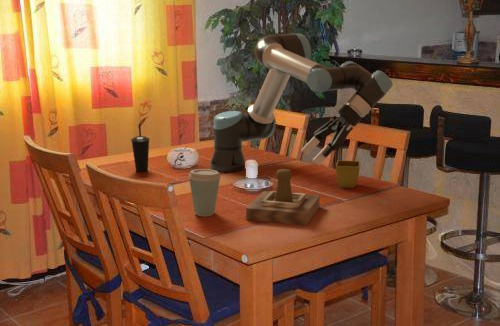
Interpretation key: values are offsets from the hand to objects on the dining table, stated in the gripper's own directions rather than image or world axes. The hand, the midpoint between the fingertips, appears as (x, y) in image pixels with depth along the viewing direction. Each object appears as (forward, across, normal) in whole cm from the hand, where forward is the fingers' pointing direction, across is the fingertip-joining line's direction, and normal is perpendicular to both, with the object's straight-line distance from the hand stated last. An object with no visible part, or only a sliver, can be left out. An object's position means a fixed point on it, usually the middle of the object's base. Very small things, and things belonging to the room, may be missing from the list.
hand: (309, 157), depth 223 cm
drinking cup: (+50, +68, +23) cm, 87 cm away
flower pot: (-3, +26, -30) cm, 40 cm away
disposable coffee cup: (+38, +6, +11) cm, 40 cm away
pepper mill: (+17, 0, -4) cm, 17 cm away
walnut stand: (+19, 0, -7) cm, 21 cm away
